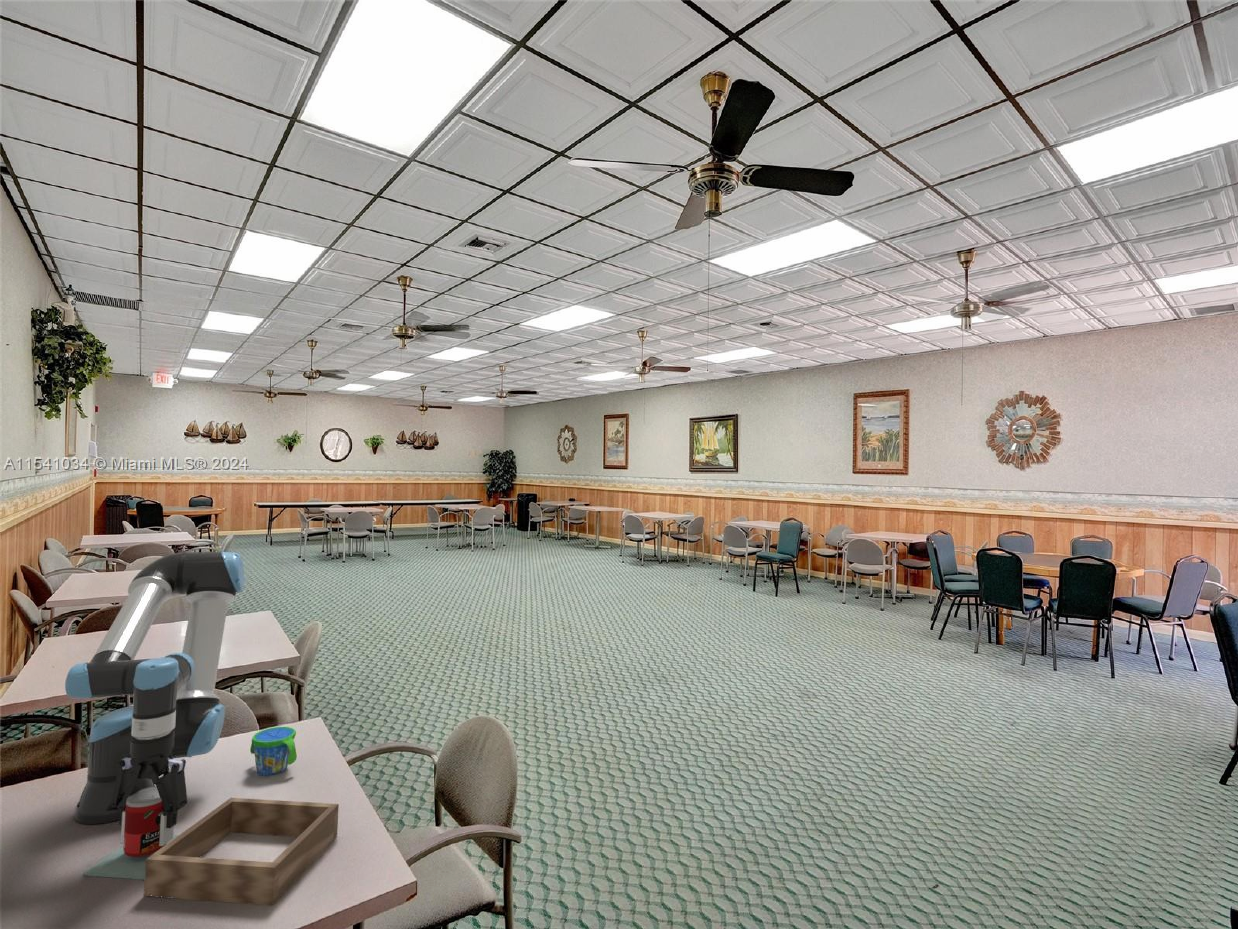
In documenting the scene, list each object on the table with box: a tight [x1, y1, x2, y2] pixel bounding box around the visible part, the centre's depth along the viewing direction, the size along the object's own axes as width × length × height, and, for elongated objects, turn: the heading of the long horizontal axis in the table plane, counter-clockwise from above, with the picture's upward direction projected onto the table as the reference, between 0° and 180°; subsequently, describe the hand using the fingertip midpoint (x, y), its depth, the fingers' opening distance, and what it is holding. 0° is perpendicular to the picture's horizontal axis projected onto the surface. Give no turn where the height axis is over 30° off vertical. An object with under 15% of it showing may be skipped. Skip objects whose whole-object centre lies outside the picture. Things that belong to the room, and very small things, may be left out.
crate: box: [143, 797, 339, 906], centre depth 125 cm, size 26×23×7 cm
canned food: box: [122, 785, 167, 857], centre depth 126 cm, size 8×8×11 cm
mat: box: [83, 833, 180, 880], centre depth 126 cm, size 14×14×1 cm
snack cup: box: [250, 726, 297, 777], centre depth 165 cm, size 16×10×10 cm
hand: (146, 840), depth 126 cm, fingers closed on canned food, 8 cm apart
